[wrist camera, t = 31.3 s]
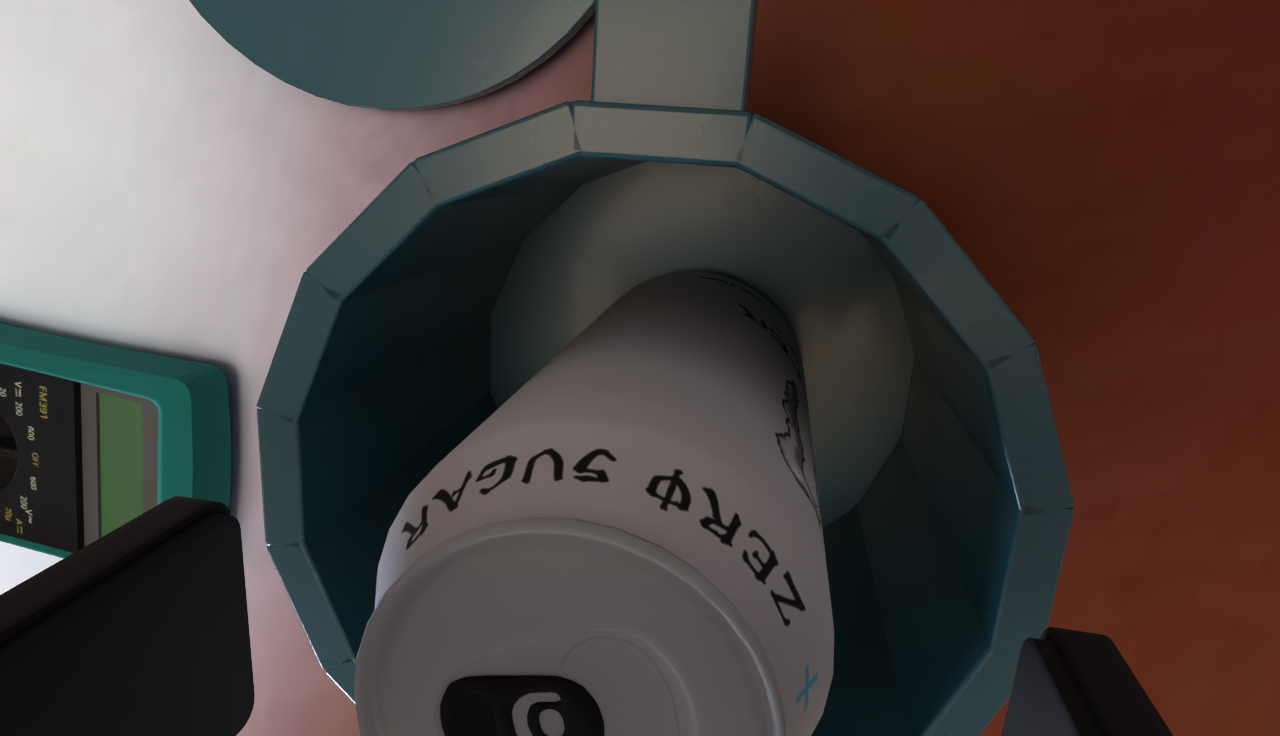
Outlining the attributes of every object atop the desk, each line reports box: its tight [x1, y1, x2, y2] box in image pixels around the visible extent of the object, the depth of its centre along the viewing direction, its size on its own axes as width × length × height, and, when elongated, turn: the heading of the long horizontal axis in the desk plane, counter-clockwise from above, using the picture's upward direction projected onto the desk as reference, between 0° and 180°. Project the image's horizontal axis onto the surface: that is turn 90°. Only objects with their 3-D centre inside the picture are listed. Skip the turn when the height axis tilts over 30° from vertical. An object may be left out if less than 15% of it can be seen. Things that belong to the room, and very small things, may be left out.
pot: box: [257, 0, 1074, 736], centre depth 19 cm, size 14×19×10 cm
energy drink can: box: [354, 271, 834, 736], centre depth 16 cm, size 6×6×15 cm
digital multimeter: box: [0, 323, 231, 558], centre depth 26 cm, size 7×15×3 cm, turn 81°
